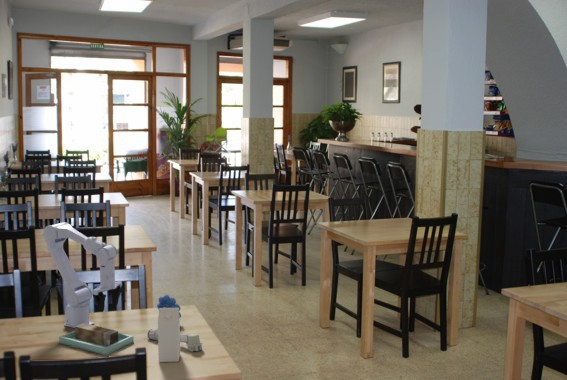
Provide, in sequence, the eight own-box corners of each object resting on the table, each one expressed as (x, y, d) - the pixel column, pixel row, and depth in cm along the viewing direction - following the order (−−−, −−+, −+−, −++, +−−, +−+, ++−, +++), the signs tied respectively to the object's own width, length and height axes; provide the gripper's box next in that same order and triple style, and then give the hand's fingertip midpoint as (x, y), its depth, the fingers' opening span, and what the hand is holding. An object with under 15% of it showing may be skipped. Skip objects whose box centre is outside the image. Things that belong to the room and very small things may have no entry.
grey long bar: (154, 327, 253) (203, 330, 240) (156, 343, 254) (205, 347, 240) (145, 331, 249) (194, 334, 236) (147, 347, 249) (197, 352, 236)
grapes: (151, 323, 267) (151, 296, 266) (161, 318, 274) (160, 291, 272) (174, 327, 263) (174, 299, 261) (183, 322, 269) (183, 295, 267)
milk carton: (160, 354, 235) (159, 305, 232) (180, 354, 235) (179, 304, 233) (158, 362, 228) (157, 311, 225) (178, 362, 228) (177, 311, 226)
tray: (59, 343, 245) (59, 337, 245) (88, 331, 258) (88, 325, 258) (105, 355, 234) (105, 348, 233) (133, 342, 247) (133, 336, 246)
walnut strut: (75, 338, 248) (74, 326, 247) (84, 335, 252) (83, 322, 251) (109, 347, 239) (109, 334, 239) (118, 343, 243) (118, 330, 243)
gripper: (101, 280, 249) (102, 314, 251) (127, 272, 261) (128, 304, 263) (88, 278, 252) (89, 311, 254) (114, 270, 265) (115, 301, 266)
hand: (108, 307), depth 259 cm, fingers open, 7 cm apart
